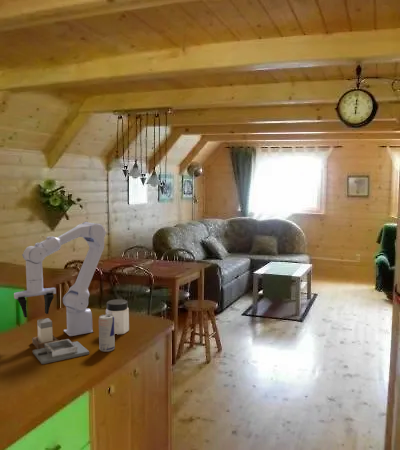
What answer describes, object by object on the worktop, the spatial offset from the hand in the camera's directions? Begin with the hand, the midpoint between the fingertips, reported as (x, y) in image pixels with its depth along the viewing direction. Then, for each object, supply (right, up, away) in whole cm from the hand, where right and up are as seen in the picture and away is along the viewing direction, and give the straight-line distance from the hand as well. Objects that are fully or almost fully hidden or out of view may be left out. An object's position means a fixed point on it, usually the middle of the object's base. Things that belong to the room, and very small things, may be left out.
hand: (36, 315), depth 172 cm
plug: (+4, -11, -1) cm, 11 cm away
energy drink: (+27, -11, -6) cm, 30 cm away
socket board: (+12, -11, -10) cm, 20 cm away
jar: (+28, -9, +13) cm, 32 cm away
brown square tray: (+4, -11, -1) cm, 11 cm away
